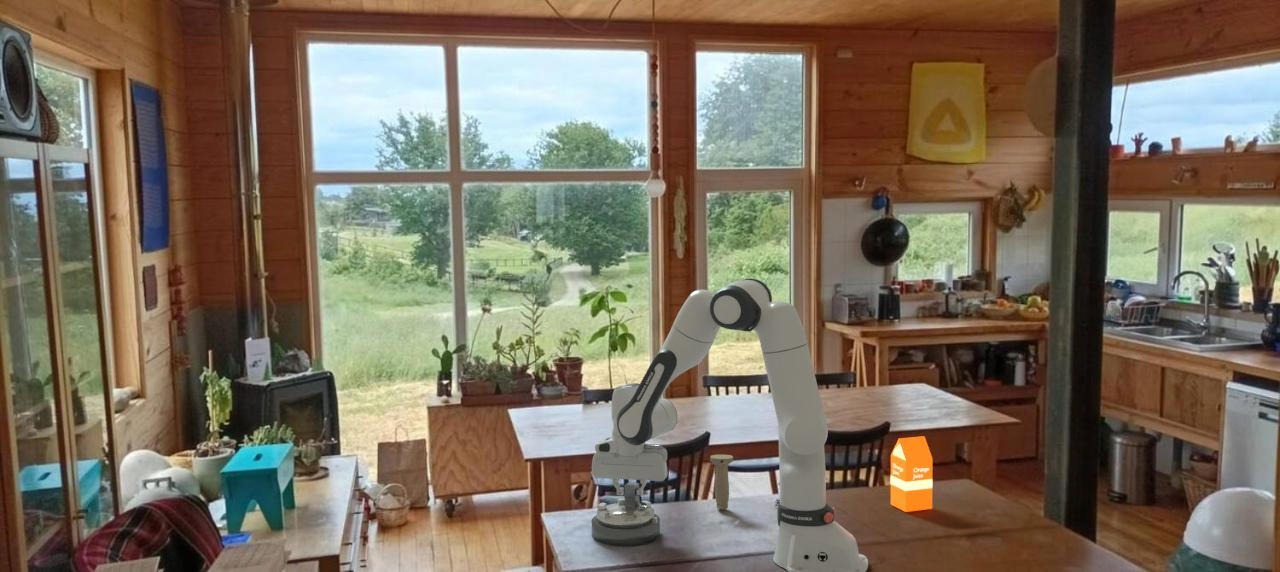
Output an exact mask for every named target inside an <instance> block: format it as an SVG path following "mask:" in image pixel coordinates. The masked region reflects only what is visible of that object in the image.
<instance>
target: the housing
mask: <svg viewBox="0 0 1280 572" xmlns="http://www.w3.org/2000/svg"><path fill="white" fill-rule="evenodd" d="M660 519H661V518H660V517H659V515H658V514H655V513H654V517H653V522H651V523H650V524H648V525H645V526H641V527H636V528H612V527H607V526H604V525H602V524H600V523H599V522H598V521H597V514H596V515H594V516H593V517H592V518H591V537H592V539H593V540H594V541H596V542H598V543H601V544H604V545H607V546H614V547H625V548H627V547H629V548H630V547H639V546H644V545H648V544H649V545H650V544H651V543H653V542H656V541H657V540H658V539H660V537H661V520H660Z"/></svg>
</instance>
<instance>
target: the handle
mask: <svg viewBox="0 0 1280 572" xmlns="http://www.w3.org/2000/svg"><path fill="white" fill-rule="evenodd" d="M709 460H710V462H711V463H713V464H714V465H715V484H714V496H715V502H716V509H718V510H727V509H728V508H729V507H728V506H729V500H730V499H729V498H730V496H729V495H730V483H729V468H728V467H729V465H730V464H732V463H733V462H734V456H733V455H731V454H712V455H710V459H709Z"/></svg>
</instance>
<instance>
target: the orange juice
mask: <svg viewBox="0 0 1280 572" xmlns="http://www.w3.org/2000/svg"><path fill="white" fill-rule="evenodd" d="M897 439H898V440H897V442H896V444H895V445H894V447H893V450H892V451H891V454H890V505H891V506H893V507H896V508H897V509H898V510H901V511H903V512H905V513H908V512H909V513H910V512H916V511H923V510H932V509H933V456H932V453H931V451H930V447H929V445H928V442H927V439H926V436H924V435H923V436H922V435H921V436H911V437H910V436H909V437H902V438H901V437H899V438H897Z"/></svg>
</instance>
